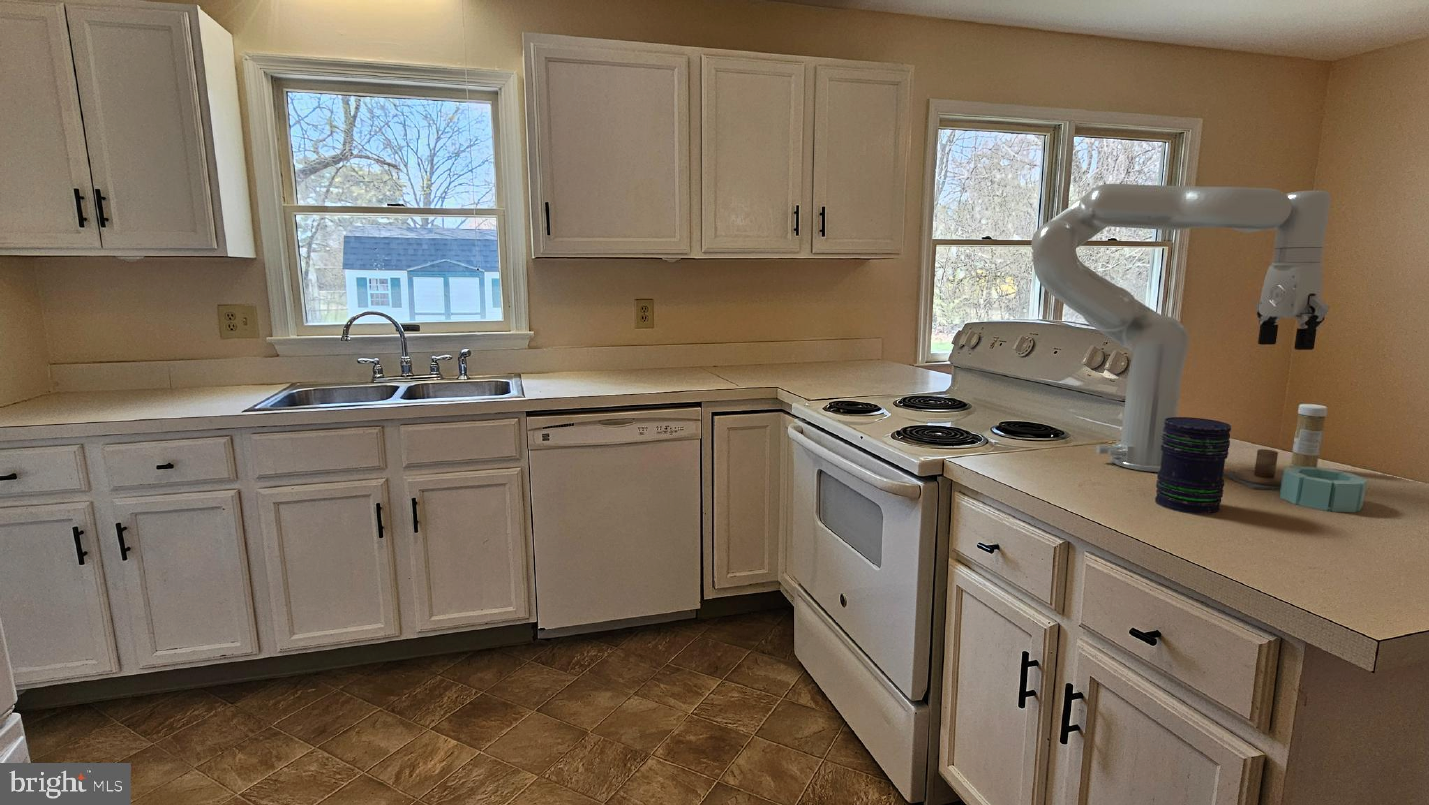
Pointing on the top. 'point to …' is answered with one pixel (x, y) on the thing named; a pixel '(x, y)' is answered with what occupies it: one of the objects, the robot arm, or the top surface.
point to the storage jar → (1192, 465)
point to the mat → (1251, 485)
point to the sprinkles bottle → (1308, 435)
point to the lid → (1262, 470)
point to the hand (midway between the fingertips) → (1284, 346)
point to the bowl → (1323, 489)
